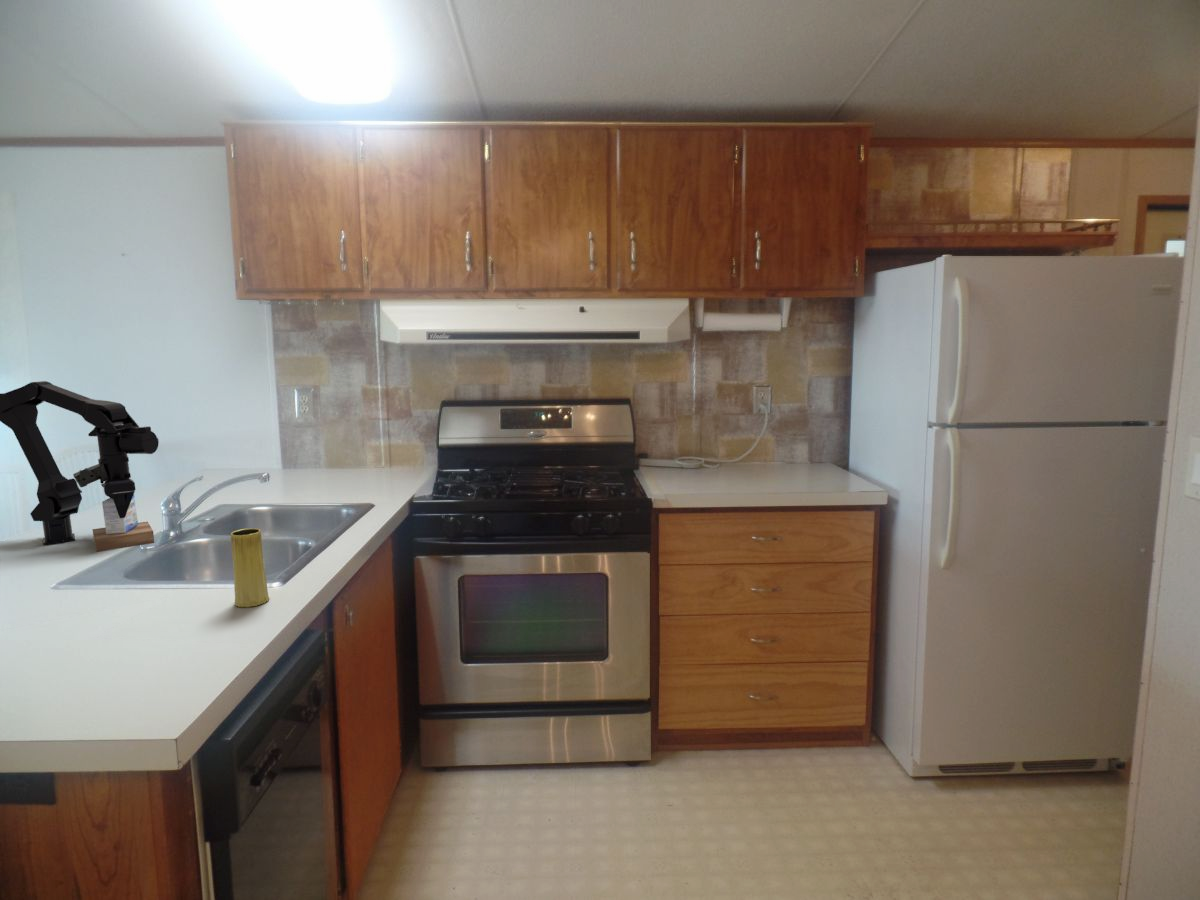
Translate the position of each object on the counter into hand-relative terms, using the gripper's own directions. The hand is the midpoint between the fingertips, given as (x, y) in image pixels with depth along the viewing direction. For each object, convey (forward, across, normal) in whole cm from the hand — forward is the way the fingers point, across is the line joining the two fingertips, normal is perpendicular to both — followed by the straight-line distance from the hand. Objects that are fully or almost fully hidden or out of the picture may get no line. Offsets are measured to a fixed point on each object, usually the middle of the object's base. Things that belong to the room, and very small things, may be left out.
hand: (120, 514), depth 178 cm
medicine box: (+4, 0, 0) cm, 4 cm away
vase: (+7, +66, +16) cm, 68 cm away
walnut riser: (+7, 0, 0) cm, 7 cm away
